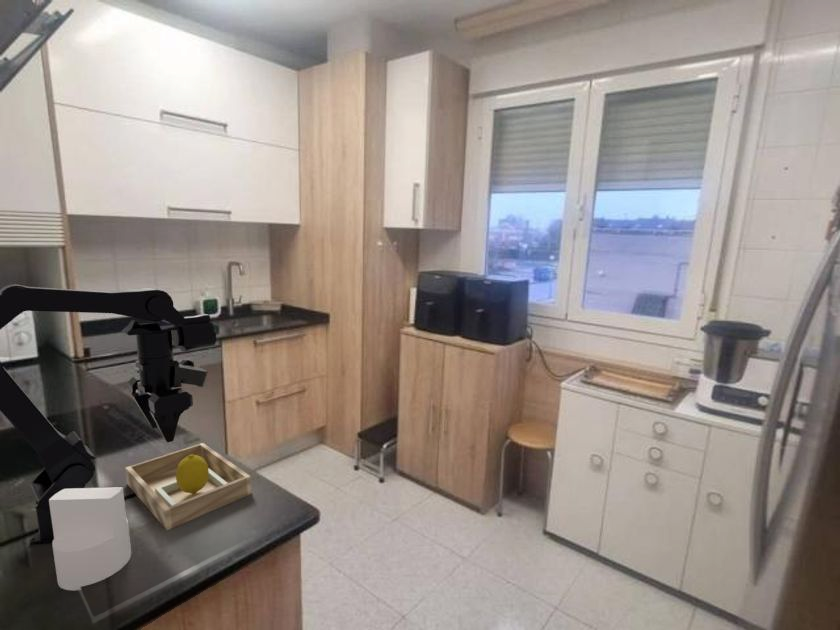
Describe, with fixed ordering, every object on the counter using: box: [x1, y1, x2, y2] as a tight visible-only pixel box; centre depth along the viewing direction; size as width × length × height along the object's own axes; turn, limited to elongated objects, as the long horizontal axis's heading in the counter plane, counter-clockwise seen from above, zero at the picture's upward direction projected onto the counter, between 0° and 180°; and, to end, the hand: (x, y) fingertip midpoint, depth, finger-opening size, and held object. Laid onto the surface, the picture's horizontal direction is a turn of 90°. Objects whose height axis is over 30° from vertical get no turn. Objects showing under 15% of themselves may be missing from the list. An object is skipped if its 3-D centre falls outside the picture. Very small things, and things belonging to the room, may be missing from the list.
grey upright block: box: [49, 486, 132, 591], centre depth 65 cm, size 9×9×12 cm
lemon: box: [176, 454, 209, 494], centre depth 84 cm, size 6×6×8 cm
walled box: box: [124, 442, 253, 531], centre depth 86 cm, size 22×15×4 cm
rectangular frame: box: [155, 468, 227, 507], centre depth 85 cm, size 10×10×2 cm
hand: (162, 434), depth 85 cm, fingers open, 9 cm apart
